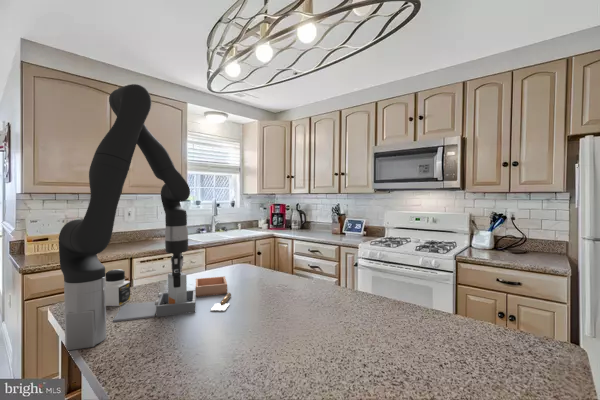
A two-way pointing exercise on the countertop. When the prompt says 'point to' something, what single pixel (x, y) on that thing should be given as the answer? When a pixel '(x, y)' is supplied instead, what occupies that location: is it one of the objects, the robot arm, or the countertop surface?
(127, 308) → the bin
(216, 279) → the bin
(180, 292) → the skincare box
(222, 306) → the hand shovel
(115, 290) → the medicine bottle
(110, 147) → the robot arm
